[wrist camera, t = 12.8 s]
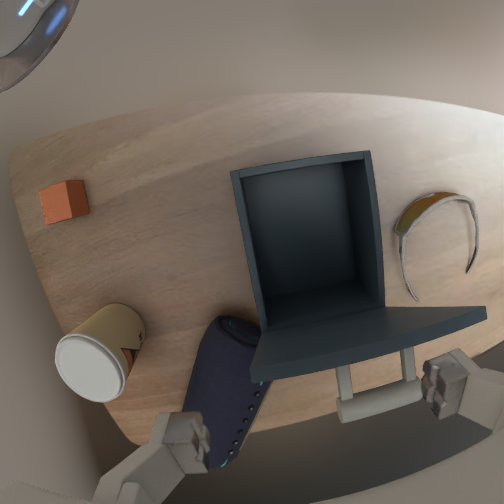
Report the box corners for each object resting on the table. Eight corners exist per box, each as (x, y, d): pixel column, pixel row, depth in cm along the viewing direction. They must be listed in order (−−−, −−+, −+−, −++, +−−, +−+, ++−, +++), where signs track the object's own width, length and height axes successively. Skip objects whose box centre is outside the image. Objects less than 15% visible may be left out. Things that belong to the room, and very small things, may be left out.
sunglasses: (457, 174, 36) (479, 181, 31) (468, 263, 41) (486, 275, 37) (378, 208, 37) (397, 219, 32) (399, 300, 43) (414, 318, 38)
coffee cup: (137, 365, 42) (109, 416, 31) (86, 332, 41) (47, 374, 30) (161, 320, 41) (134, 369, 29) (105, 284, 39) (62, 321, 28)
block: (57, 188, 36) (38, 190, 32) (83, 179, 36) (65, 180, 32) (64, 220, 37) (46, 225, 33) (89, 212, 37) (72, 217, 33)
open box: (234, 172, 36) (229, 171, 28) (344, 155, 36) (370, 150, 27) (259, 302, 40) (262, 334, 32) (359, 282, 40) (385, 308, 31)
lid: (249, 368, 14) (265, 453, 13) (486, 305, 14) (491, 382, 13) (261, 332, 31) (269, 377, 30) (386, 306, 31) (392, 349, 30)
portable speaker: (235, 439, 46) (233, 483, 37) (178, 425, 45) (167, 468, 36) (285, 317, 41) (296, 358, 31) (212, 297, 40) (202, 334, 30)
